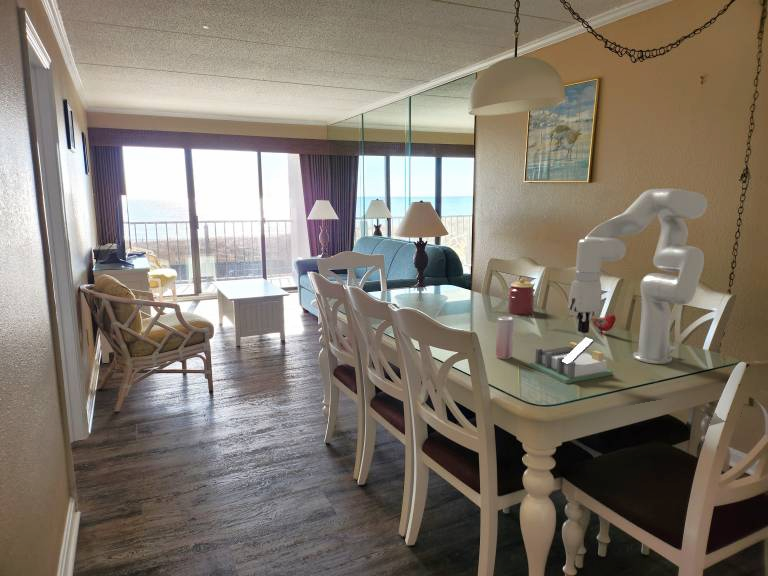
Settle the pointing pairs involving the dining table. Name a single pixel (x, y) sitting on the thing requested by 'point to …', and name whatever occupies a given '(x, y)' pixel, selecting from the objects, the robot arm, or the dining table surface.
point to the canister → (521, 298)
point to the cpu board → (571, 365)
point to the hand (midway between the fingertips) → (583, 332)
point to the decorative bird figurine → (604, 323)
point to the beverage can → (504, 337)
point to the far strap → (558, 350)
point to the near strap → (577, 351)
